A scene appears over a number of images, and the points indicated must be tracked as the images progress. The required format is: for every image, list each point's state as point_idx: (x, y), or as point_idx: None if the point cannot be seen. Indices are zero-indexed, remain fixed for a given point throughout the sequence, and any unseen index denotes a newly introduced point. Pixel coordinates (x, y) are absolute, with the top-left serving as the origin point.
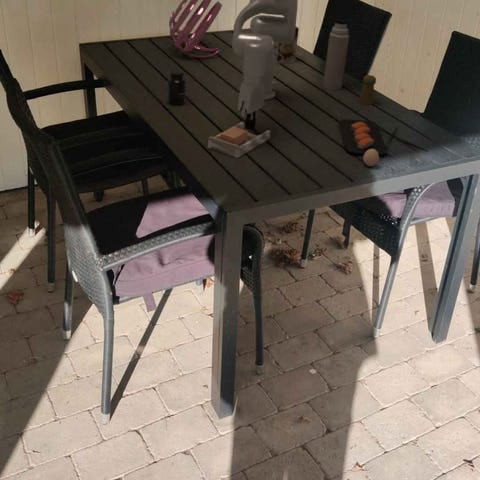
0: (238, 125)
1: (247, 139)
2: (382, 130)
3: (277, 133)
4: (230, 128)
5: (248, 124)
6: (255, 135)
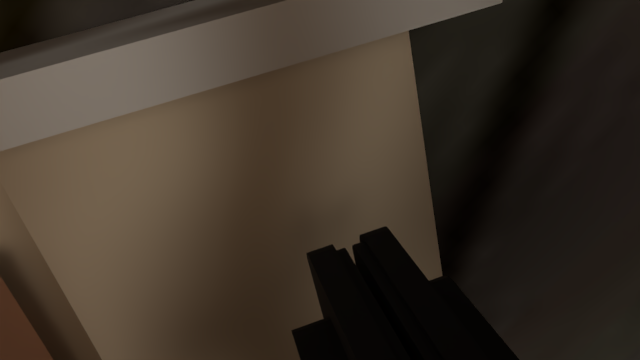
0: (307, 52)
1: (199, 335)
2: None
3: (626, 271)
4: (36, 85)
5: None
6: (415, 219)
